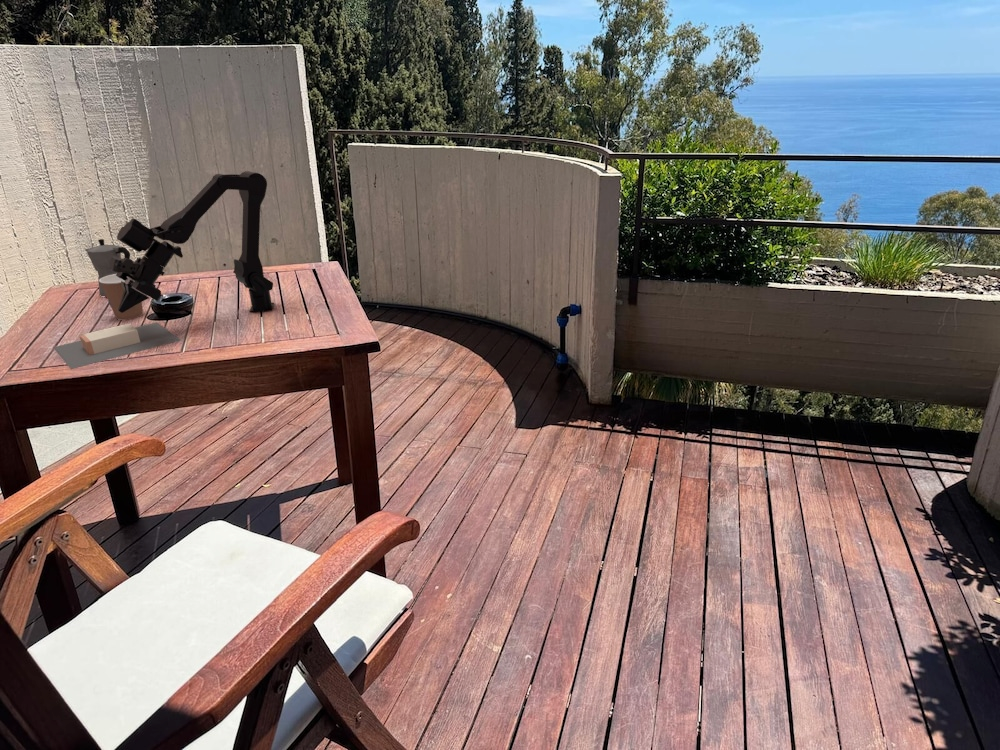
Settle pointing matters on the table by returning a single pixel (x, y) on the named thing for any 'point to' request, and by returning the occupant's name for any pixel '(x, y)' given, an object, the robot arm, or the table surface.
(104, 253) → the coffeepot
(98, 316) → the table surface
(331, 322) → the table surface
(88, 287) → the table surface
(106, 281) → the coffee cup
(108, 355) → the mat
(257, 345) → the table surface
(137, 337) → the tan bar
